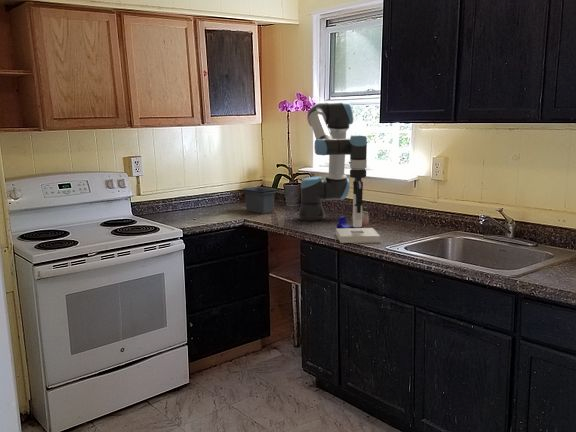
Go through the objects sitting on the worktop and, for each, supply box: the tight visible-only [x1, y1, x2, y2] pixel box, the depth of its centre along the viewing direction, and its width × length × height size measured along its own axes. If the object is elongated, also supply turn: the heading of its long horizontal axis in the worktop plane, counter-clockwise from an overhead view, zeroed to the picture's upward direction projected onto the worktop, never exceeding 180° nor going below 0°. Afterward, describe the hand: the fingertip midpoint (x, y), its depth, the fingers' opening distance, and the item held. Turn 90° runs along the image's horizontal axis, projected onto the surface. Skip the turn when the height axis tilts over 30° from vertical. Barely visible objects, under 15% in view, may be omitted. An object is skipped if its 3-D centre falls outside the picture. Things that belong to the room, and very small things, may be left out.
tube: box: [352, 194, 363, 227], centre depth 259 cm, size 4×4×15 cm
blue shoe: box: [336, 216, 361, 228], centre depth 280 cm, size 12×4×6 cm, turn 41°
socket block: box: [335, 227, 381, 244], centre depth 261 cm, size 18×18×3 cm
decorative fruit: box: [350, 210, 370, 228], centre depth 283 cm, size 9×8×10 cm
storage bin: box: [242, 186, 277, 215], centre depth 335 cm, size 21×16×14 cm
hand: (357, 218), depth 259 cm, fingers closed on tube, 4 cm apart
